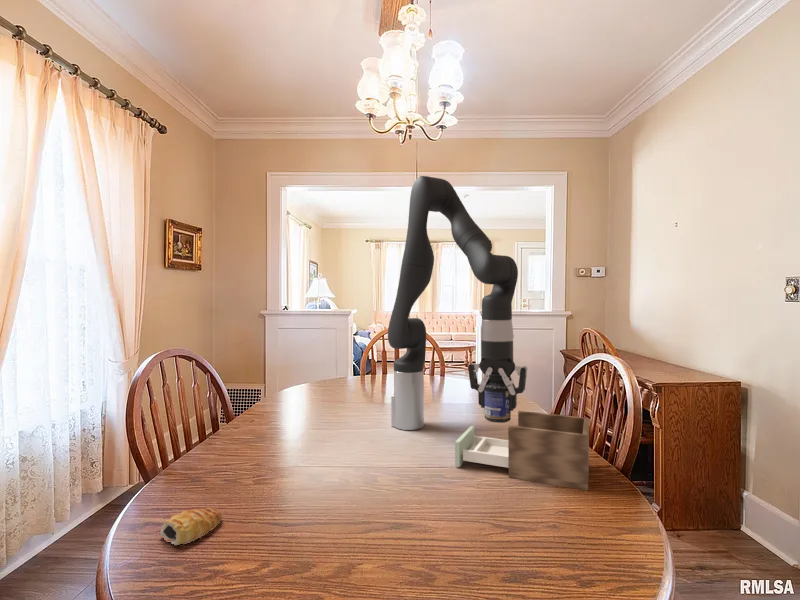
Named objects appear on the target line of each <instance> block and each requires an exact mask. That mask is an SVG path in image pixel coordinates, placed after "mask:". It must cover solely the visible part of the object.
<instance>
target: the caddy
mask: <svg viewBox="0 0 800 600" xmlns="http://www.w3.org/2000/svg"><path fill="white" fill-rule="evenodd" d="M517 414H518V415H517V418H518V419H517V421H518V422H517V425H510V424H508V427H507V431H508V432H507V433H508V434H507V435H508V437H507V440H508V458H509V468H508V478H512V479H518V480H522V481H528V482H529V481H530V482H534V483H536V482H537V483H542V484H547V485H553V486H558V487H564V488H565V487H566V488H571V489H577V490H582V491H589V474H590V473H589V472H590V418H589V417H583V416H582V417H581V416H573V415H572V416H571V415H563V414H554V413H544V412H543V413H542V412H537V411H536V412H534V411H525V410H518V413H517Z"/></svg>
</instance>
